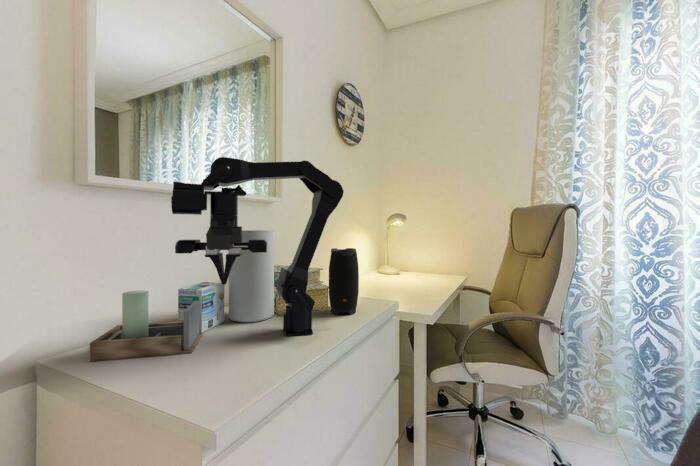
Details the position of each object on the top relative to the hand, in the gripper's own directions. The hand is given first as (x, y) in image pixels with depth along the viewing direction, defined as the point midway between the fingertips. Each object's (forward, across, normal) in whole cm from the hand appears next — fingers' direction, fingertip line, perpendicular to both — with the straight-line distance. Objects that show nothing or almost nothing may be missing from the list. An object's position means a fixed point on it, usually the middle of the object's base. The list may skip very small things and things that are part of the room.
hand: (224, 284), depth 71 cm
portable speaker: (+13, +32, +18) cm, 39 cm away
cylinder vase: (+13, +5, +19) cm, 24 cm away
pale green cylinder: (+12, -18, 0) cm, 21 cm away
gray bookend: (+13, -14, 0) cm, 19 cm away
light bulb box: (+13, -7, +13) cm, 20 cm away
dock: (+13, -14, 0) cm, 19 cm away
